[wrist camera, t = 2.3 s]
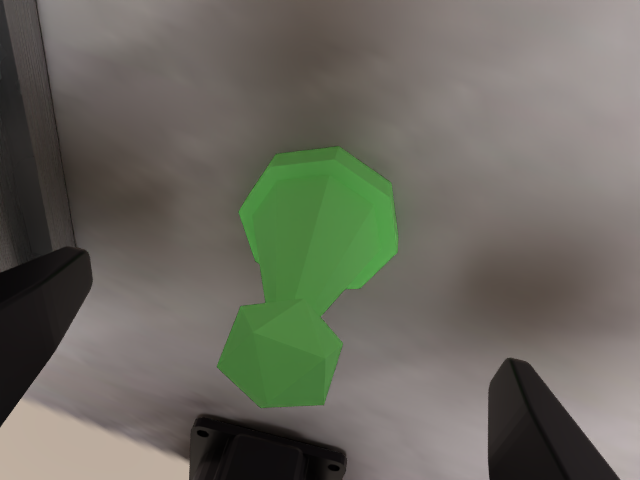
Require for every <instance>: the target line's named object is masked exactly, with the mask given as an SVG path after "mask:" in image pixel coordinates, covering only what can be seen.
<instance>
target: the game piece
mask: <svg viewBox="0 0 640 480" xmlns="http://www.w3.org/2000/svg"><path fill="white" fill-rule="evenodd" d="M238 213H239V215H240V218H241V221H242V224H243V227H244V230H245V233H246V236H247V239H248V242H249V245H250V247H251V250H252V253H253V256H254V259H255V262H257V263H258V264H260V271H261V277H262V284H263V290H264V297H265V303H262V304H254V305H245V306H240V309H239V312H238V314H237V317H236V319H235V322H234V324H233V327H232V329H231V332H230V334H229V337H228V339H227V342H226V344H225V347H224V349H223V352H222V354H221V357H220V359H219V362H218V364H217V368H218V369H219V370H220V371H221V372H222V373H224V374H225V375H226V376H227V377H228V378H229V379H230V380H231V381H232V382H233V383H234V384H235V385H236V386H237V387H239V388H240V389H241V390H242V391H243V392H244V393H245V394H246V395H247V396H248V397H249V398H250V399H251V400H252V401H254V402H255V403H256V404H257V405H258V406H259V407H260V408H271V407H292V406H314V405H324V403H325V400H326V397H327V393H328V390H329V387H330V384H331V381H332V377H333V374H334V371H335V368H336V365H337V361H338V358H339V355H340V352H341V349H342V346H343V343H342V342H341V340H340V339H339V338H338V337H337V336H336V335H335V333H334V332H333V331H332V330H331V329H330V328H329V327H328V325H327V324H326V323H325V322H324V321H323V320H322V318H321V316H322V315H323V314H324V312H325V311H326V310H327V309H328V308H329V307H330V306H331V305H332V303H333V302H334V301H335V300H336V299H337V298H338V297H339V296H340V294H341V293H342V292H343V291H344V290H345V289H360V288H361V287H362V286H363V285H364V284H365V283H366V282H367V281H369V280H370V279H371V278H372V277H373V276H374V275H375V274H376V273H377V272H378V271H379V270H380V269H381V268H382V267H383V266H384V265H385V264H386V263H387V262H388V261H389V260H390V259H391V258H392V257H393V256H394V255H395V254H396V253H397V252H398V230H397V222H396V215H395V207H394V199H393V192H392V184H391V182H389V181H388V180H386V179H385V178H384V177H382V176H381V175H379V174H378V173H376V172H375V171H374V170H372V169H371V168H369V167H368V166H366V165H365V164H364V163H362V162H361V161H359V160H358V159H356V158H355V157H354V156H352V155H351V154H349V153H348V152H346V151H345V150H344V149H342V148H341V147H339V146H336V147H328V148H320V149H312V150H303V151H295V152H287V153H279V154H276V155H275V156H274V158H273V159H272V161H271V162H270V164H269V165H268V167H267V168H266V170H265V171H264V173H263V174H262V176H261V177H260V178H259V180H258V181H257V183H256V184H255V186H254V187H253V189H252V190H251V192H250V193H249V195H248V196H247V198H246V200H245V201H244V203H243V205H242V206H241V208H240V210H239V212H238Z"/></svg>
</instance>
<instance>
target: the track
mask: <svg viewBox="0 0 640 480" xmlns="http://www.w3.org/2000/svg"><path fill="white" fill-rule="evenodd" d="M66 246H72V247H75V242H74V236H73V230H72V224H71V217H70V211H69V205H68V199H67V193H66V187H65V181H64V174H63V168H62V162H61V156H60V150H59V144H58V137H57V131H56V125H55V119H54V113H53V107H52V101H51V94H50V88H49V82H48V76H47V70H46V64H45V57H44V51H43V45H42V39H41V33H40V27H39V21H38V14H37V8H36V2H35V0H0V272H2V271H5V270H8V269H10V268H13V267H15V266H18V265H20V264H23V263H25V262H28V261H30V260H33V259H35V258H38V257H40V256H43V255H45V254H48V253H50V252H53V251H55V250H58V249H60V248H63V247H66Z"/></svg>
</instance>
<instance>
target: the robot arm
mask: <svg viewBox="0 0 640 480" xmlns="http://www.w3.org/2000/svg"><path fill="white" fill-rule="evenodd" d="M92 282H93V277H92V269H91V262H90V256H89V253H88V252H87V251H86V250H84V249H80V248H76V247H72V246H66V247H63V248H60V249H58V250H55V251H53V252H50V253H48V254H45V255H43V256H40V257H38V258H35V259H33V260H30V261H28V262H25V263H23V264H20V265H18V266H15V267H13V268H10V269H8V270H5V271H2V272H0V427H1V425H2V424H3V422H4V421H5V420H6V418H7V417H8V416H9V414H10V413H11V412H12V410H13V409H14V407H15V406H16V405H17V403H18V402H19V400H20V399H21V398H22V396H23V395H24V394H25V392H26V391H27V389H28V388H29V387H30V385H31V384H32V383H33V381H34V380H35V378H36V377H37V376H38V374H39V373H40V371H41V370H42V369H43V367H44V366H45V365H46V363H47V362H48V360H49V359H50V358H51V356H52V355H53V353H54V352H55V350H56V349H57V347H58V345H59V344H60V342H61V340H62V339H63V337H64V335H65V333H66V332H67V330H68V328H69V326H70V325H71V323H72V321H73V319H74V318H75V316H76V314H77V312H78V311H79V309H80V307H81V305H82V303H83V302H84V300H85V298H86V296H87V295H88V293H89V291H90V289H91V286H92ZM346 464H347V458H346V457H345V456H344V455H343V454H341V453H338V452H335V451H331V450H327V449H323V448H319V447H316V446H312V445H308V444H304V443H300V442H296V441H292V440H289V439H285V438H281V437H277V436H273V435H269V434H265V433H262V432H258V431H254V430H250V429H246V428H242V427H238V426H235V425H231V424H227V423H223V422H219V421H215V420H211V419H208V418H198V419H196V420H195V422H194V425H193V427H192V429H191V444H190V472H189V480H342V478H343V476H344V474H345V471H346ZM488 466H489V478H490V480H620V478H619V477H618V476H617V475H616V473H615V472H614V471H613V470H612V468H611V467H610V466H609V464H608V463H607V462H606V461H605V459H604V458H603V457H602V455H601V454H600V453H599V452H598V450H597V449H596V448H595V447H594V445H593V444H592V443H591V441H590V440H589V439H588V438H587V436H586V435H585V434H584V433H583V431H582V430H581V429H580V427H579V426H578V425H577V424H576V422H575V421H574V420H573V418H572V417H571V416H570V415H569V413H568V412H567V411H566V410H565V408H564V407H563V406H562V404H561V403H560V402H559V401H558V399H557V398H556V397H555V395H554V394H553V393H552V392H551V390H550V389H549V388H548V387H547V385H546V384H545V383H544V381H543V380H542V379H541V378H540V376H539V375H538V374H537V373H536V371H535V370H534V369H533V367H532V366H531V365H530V364H529V363H528V362H526V361H522V360H518V359H514V358H507V359H505V361H504V362H503V363H502V365H501V366H500V368H499V369H498V371H497V372H496V374H495V375H494V377H493V379H492V380H491V382H490V385H489V392H488Z"/></svg>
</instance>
